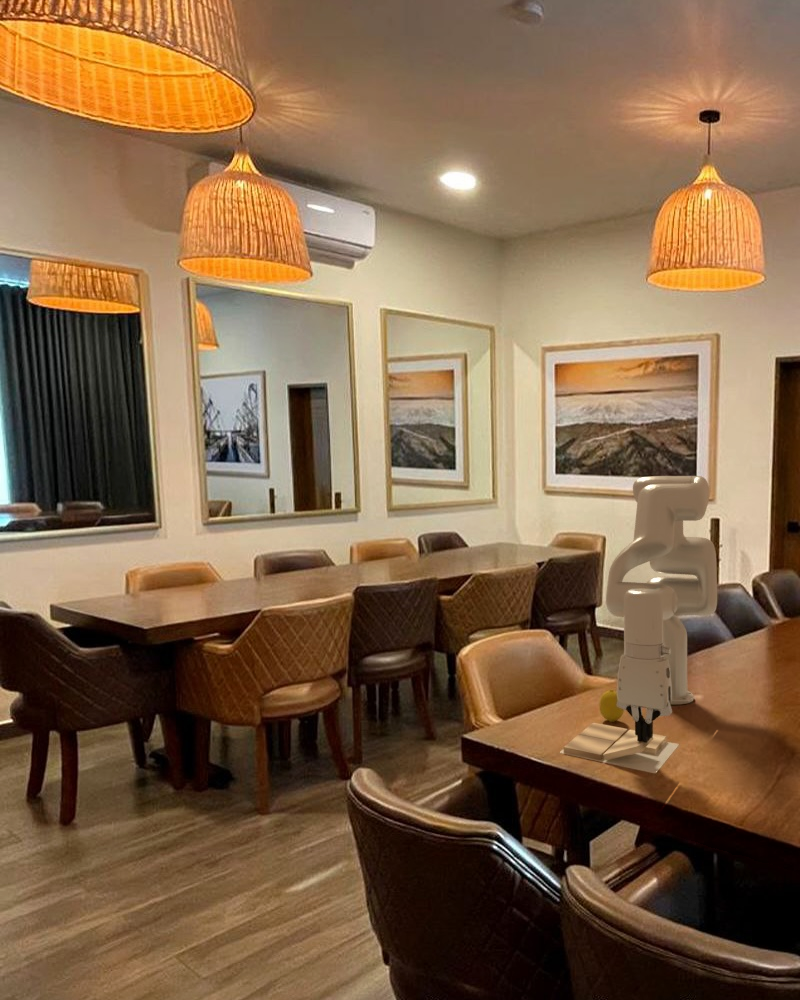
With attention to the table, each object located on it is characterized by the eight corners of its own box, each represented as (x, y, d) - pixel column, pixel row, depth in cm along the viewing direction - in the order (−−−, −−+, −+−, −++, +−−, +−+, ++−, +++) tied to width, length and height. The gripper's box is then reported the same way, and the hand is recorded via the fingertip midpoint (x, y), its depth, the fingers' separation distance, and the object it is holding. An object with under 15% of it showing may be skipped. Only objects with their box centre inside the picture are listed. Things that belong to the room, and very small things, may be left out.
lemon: (607, 728, 169) (607, 693, 169) (595, 720, 175) (594, 687, 174) (628, 725, 171) (628, 691, 171) (615, 717, 176) (615, 685, 176)
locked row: (592, 727, 169) (592, 722, 169) (627, 734, 164) (627, 728, 164) (563, 752, 154) (563, 746, 154) (600, 760, 150) (600, 754, 150)
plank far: (629, 734, 164) (629, 729, 164) (666, 741, 159) (666, 736, 159) (617, 746, 157) (617, 741, 157) (655, 754, 152) (655, 748, 152)
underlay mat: (589, 728, 169) (589, 727, 169) (679, 746, 158) (679, 744, 158) (559, 754, 154) (559, 752, 154) (655, 775, 143) (655, 773, 143)
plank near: (618, 747, 156) (616, 741, 156) (653, 738, 152) (651, 732, 152) (605, 760, 149) (602, 754, 149) (641, 752, 145) (638, 746, 145)
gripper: (686, 651, 147) (687, 741, 147) (612, 642, 155) (613, 727, 156) (677, 659, 141) (677, 753, 141) (600, 649, 149) (601, 738, 150)
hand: (643, 739), depth 149 cm, fingers closed
